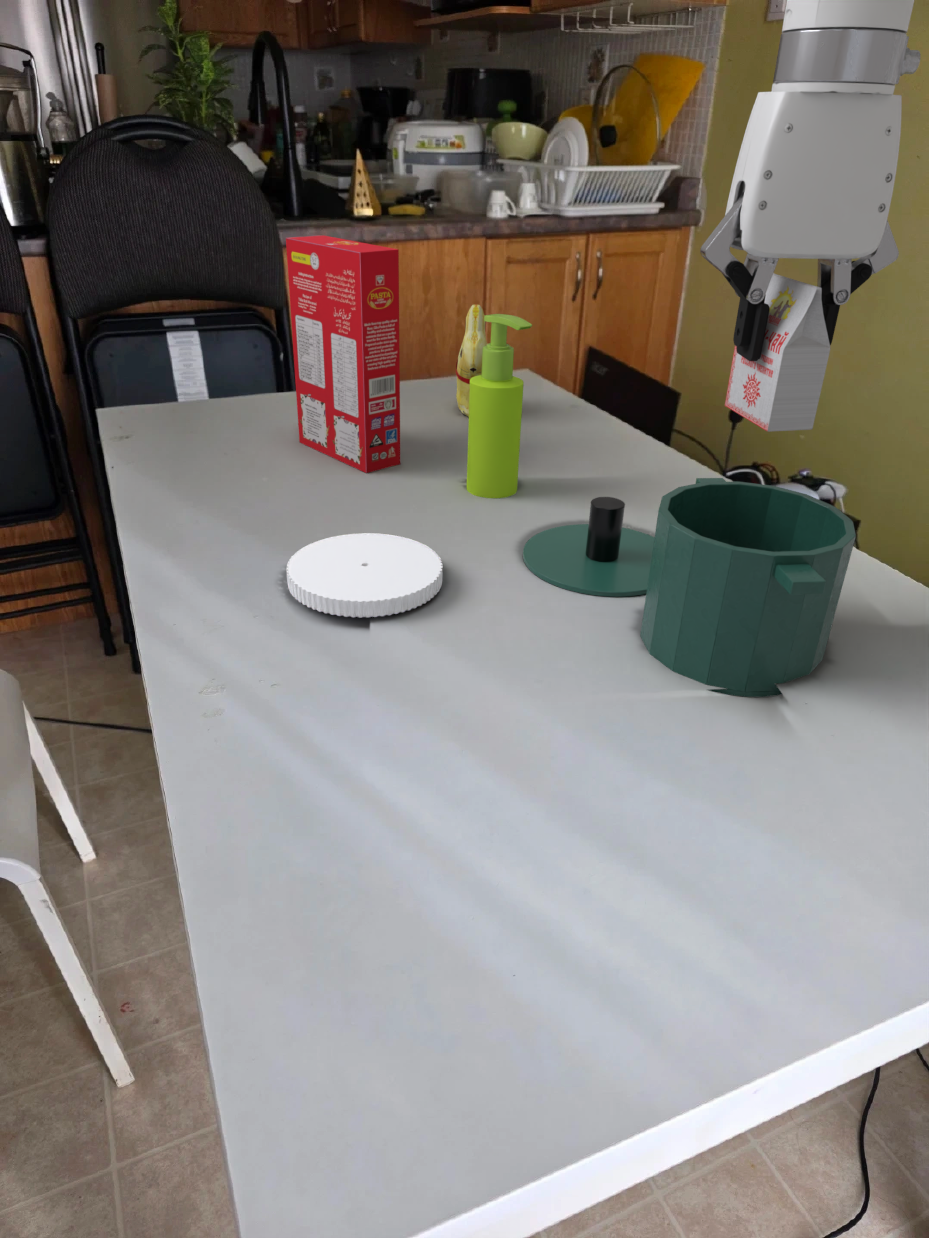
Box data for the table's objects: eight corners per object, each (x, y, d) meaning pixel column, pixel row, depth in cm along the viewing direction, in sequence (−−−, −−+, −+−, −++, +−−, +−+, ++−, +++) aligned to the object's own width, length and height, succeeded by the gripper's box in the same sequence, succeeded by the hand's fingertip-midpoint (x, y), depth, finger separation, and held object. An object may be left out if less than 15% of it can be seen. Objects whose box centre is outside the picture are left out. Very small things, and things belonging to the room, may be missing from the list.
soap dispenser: (497, 509, 98) (506, 324, 89) (456, 491, 103) (460, 313, 93) (533, 497, 102) (546, 318, 92) (492, 480, 106) (500, 307, 96)
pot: (763, 590, 83) (790, 469, 77) (868, 714, 66) (913, 570, 60) (614, 594, 82) (629, 470, 76) (681, 721, 64) (708, 574, 58)
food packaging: (400, 464, 110) (398, 249, 98) (366, 473, 107) (360, 252, 95) (332, 434, 120) (323, 235, 107) (299, 442, 117) (285, 237, 104)
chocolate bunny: (453, 420, 127) (455, 312, 120) (456, 399, 137) (459, 297, 129) (500, 422, 127) (506, 313, 120) (500, 400, 137) (505, 299, 129)
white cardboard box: (766, 404, 71) (792, 272, 66) (812, 429, 66) (844, 287, 61) (724, 405, 71) (747, 273, 66) (767, 431, 65) (795, 288, 60)
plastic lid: (418, 637, 74) (418, 611, 72) (262, 614, 76) (260, 589, 75) (458, 566, 86) (458, 543, 84) (322, 549, 88) (320, 525, 87)
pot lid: (654, 532, 94) (662, 473, 91) (702, 600, 81) (714, 534, 78) (511, 534, 93) (515, 474, 89) (537, 604, 79) (542, 537, 76)
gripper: (928, 75, 61) (862, 346, 70) (691, 67, 59) (655, 345, 68) (994, 70, 54) (912, 370, 63) (729, 61, 53) (684, 369, 62)
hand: (779, 354), depth 66 cm, fingers closed on white cardboard box, 4 cm apart
